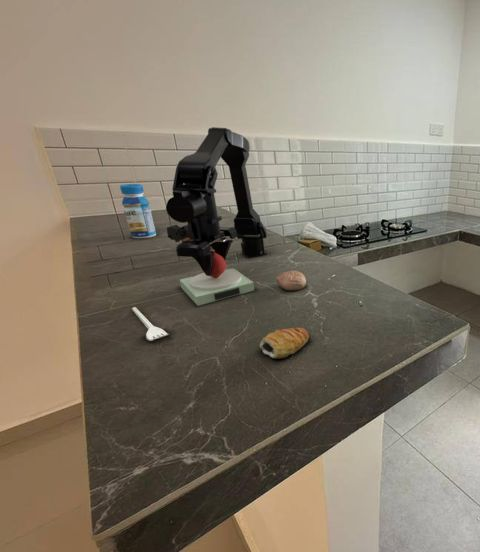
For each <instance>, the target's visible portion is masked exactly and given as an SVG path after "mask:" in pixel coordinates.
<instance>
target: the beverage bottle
mask: <svg viewBox="0 0 480 552" xmlns="http://www.w3.org/2000/svg"><path fill="white" fill-rule="evenodd" d="M119 188H120V192H121V194H122V195H123V198H122V201H121V204H122V206H123V213H124V214H125V219H126V221H127V225H128V229H129V231H130V233H129V234H130V236H131V238H133V239H149V238H153V237H156V236H157V230H156V228H155V222H154V219H153V214H152V208H151V207H150V205H149V204H150V202H149V200H148V198H146V197H145V196H144V195H145V191H144V186H143V185H142V184H139V183H127V184H121V185H120V186H119Z"/></svg>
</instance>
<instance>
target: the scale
mask: <svg viewBox="0 0 480 552" xmlns="http://www.w3.org/2000/svg"><path fill="white" fill-rule="evenodd" d="M179 284H180V287H181V288H180V289H182V290H183V292H184V293H186V295H187V296H188V297H189V298H190V299H191V300H192V302H193V303H195V305H196V306H203V305H206V304H210V303H213V302H217V301H222V300H225V299H228V298H231V297H236V296H239V295H243V294H247V293H250V292H255V285H254V281H252V280H251V279H249V278H248V277H246V276H245V275H243V274H242V273H241V272H239V271H238V270H237V269H235V268H234V267H231V268H226V269H225V271H224V272H223V273H222V274H221V275H220V276H219V277H218V278H213V277H210V276H206V274H205V273H204V272H201V273H199V274H196V275H195V276H189V277H185V278H181V279H179Z"/></svg>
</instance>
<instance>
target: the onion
mask: <svg viewBox="0 0 480 552" xmlns="http://www.w3.org/2000/svg"><path fill="white" fill-rule="evenodd" d="M210 251H215V250H213V248H211V250H210ZM201 270H202V269H201ZM225 270H227V262H226V259H225V260H224V258H223V257H222V256H220V255H219V254H217V253H215V255H214V261H213V268H212V273H211V276H210V277H213V278H218V277H219V276H220V275H221V274H222V273H223V272H224V271H225ZM202 273H204V271H203V270H202Z"/></svg>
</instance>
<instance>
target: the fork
mask: <svg viewBox="0 0 480 552" xmlns="http://www.w3.org/2000/svg"><path fill="white" fill-rule="evenodd" d="M131 310H132V311H133V312H134V314H135V315H136V317H138V319H139V320H140V321H141V323H142V324H143V325H144V326H145V327H146V328H147V332H146V334H145V338H146V340H148V341H150V342H153V341H154V340H156V339H157V340H158V339H161V338H163V337H166V336H169V333H168V332H166V331H165V330H164V329H162V328H160V327H158V326H155V325H153V324H152V323H151V322H150V321H149V320H148V319H147V317H146V316H145V315H144V314H142V312H141V311H140V310H139V309H138V308H137V307H136V306H134V307H132V308H131Z"/></svg>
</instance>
